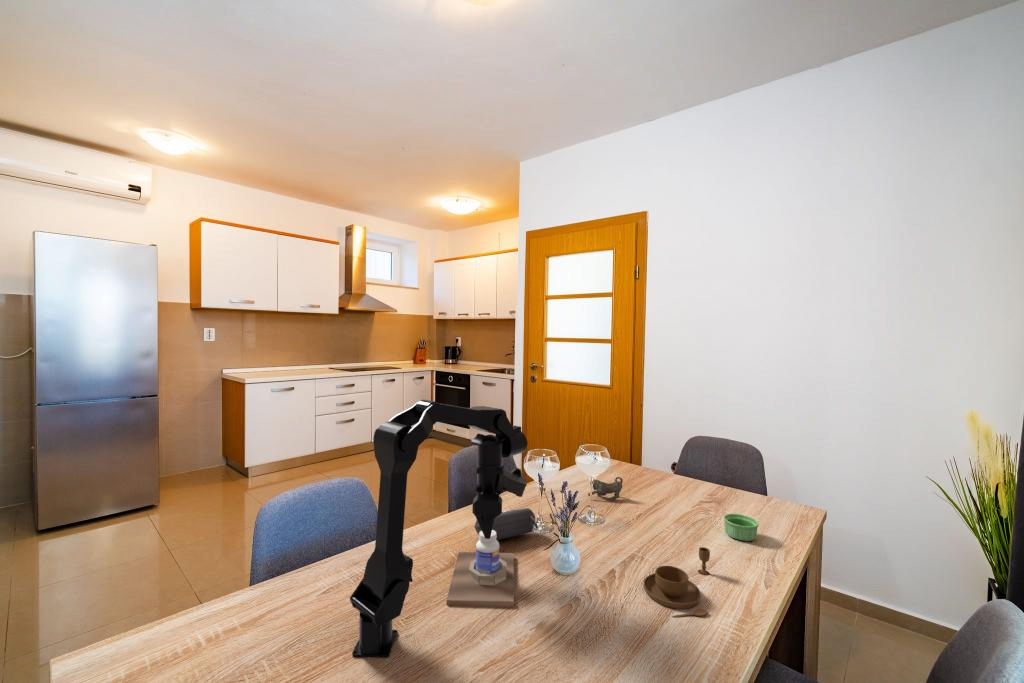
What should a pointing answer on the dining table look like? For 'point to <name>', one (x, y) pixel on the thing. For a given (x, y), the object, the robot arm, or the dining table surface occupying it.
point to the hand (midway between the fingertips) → (488, 528)
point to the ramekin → (741, 527)
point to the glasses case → (512, 523)
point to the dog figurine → (607, 488)
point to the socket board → (482, 583)
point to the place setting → (676, 586)
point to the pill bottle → (487, 554)
